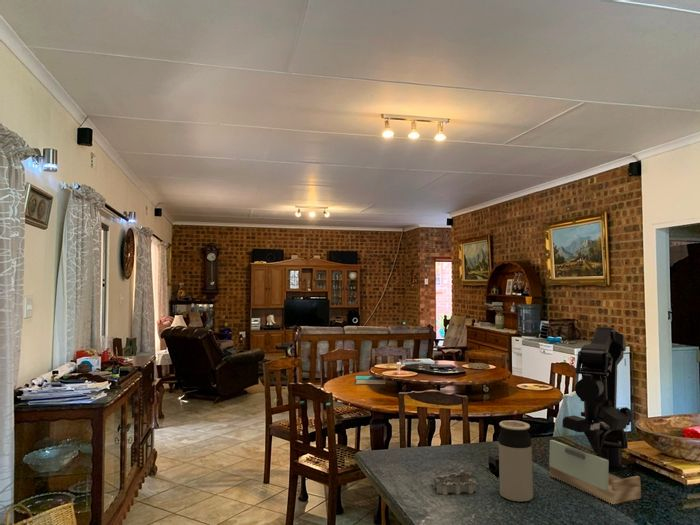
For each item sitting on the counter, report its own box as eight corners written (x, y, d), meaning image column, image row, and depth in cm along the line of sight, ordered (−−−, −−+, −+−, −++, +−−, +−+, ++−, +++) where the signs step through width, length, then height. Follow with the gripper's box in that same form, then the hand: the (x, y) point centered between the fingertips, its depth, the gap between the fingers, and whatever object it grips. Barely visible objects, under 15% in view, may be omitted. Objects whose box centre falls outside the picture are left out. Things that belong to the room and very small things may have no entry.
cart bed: (576, 470, 140) (576, 452, 141) (641, 498, 122) (640, 476, 122) (550, 476, 137) (549, 457, 137) (612, 504, 118) (611, 482, 118)
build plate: (520, 479, 135) (519, 463, 136) (497, 482, 134) (496, 465, 134) (496, 464, 147) (495, 449, 148) (474, 466, 146) (474, 451, 146)
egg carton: (470, 484, 132) (469, 468, 132) (478, 495, 124) (478, 479, 125) (431, 484, 132) (430, 469, 132) (437, 496, 124) (437, 479, 124)
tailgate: (552, 465, 136) (553, 439, 136) (608, 489, 119) (608, 460, 120) (547, 465, 135) (548, 440, 136) (602, 490, 119) (603, 460, 119)
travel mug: (529, 505, 118) (527, 430, 119) (496, 498, 122) (494, 425, 123) (535, 493, 125) (533, 422, 126) (504, 487, 129) (502, 418, 130)
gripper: (594, 404, 120) (597, 468, 120) (647, 397, 127) (649, 458, 127) (560, 395, 131) (561, 454, 130) (610, 389, 138) (612, 445, 137)
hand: (597, 453), depth 131 cm, fingers closed
